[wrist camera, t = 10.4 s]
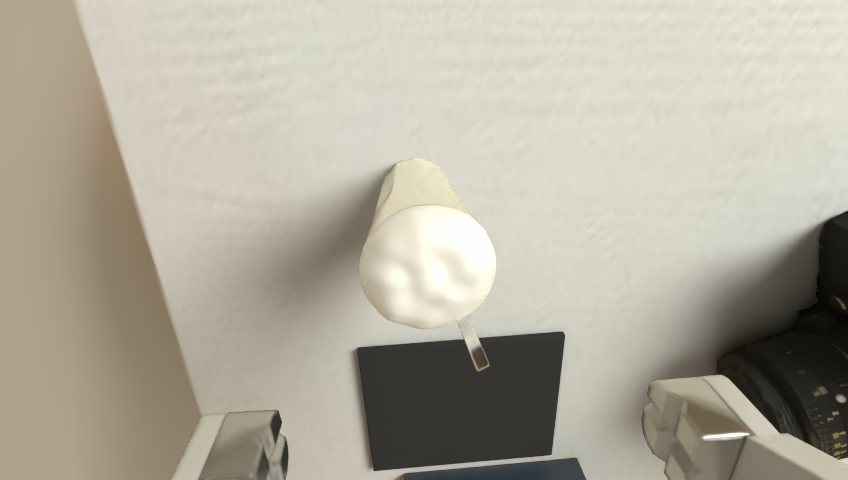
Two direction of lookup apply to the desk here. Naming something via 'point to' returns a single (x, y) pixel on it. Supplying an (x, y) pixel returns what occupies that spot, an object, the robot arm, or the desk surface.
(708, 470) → the robot arm
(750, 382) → the film camera
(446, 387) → the mat
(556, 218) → the desk surface
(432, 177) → the milkshake
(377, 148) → the desk surface
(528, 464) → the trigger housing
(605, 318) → the desk surface
